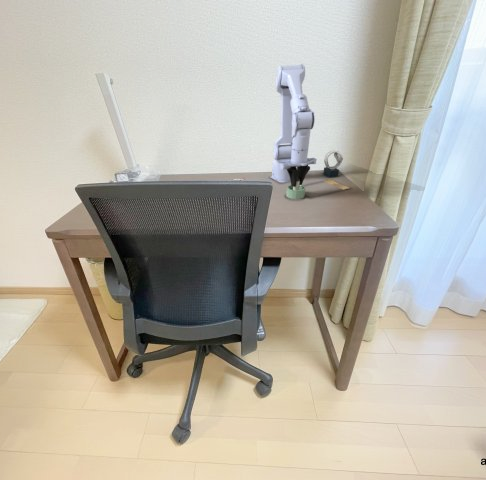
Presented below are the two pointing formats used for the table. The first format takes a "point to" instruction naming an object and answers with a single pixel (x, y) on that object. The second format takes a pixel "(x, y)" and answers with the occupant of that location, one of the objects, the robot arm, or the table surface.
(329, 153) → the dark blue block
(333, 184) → the cork mat
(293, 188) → the marker
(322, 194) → the table surface
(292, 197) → the pen pot
